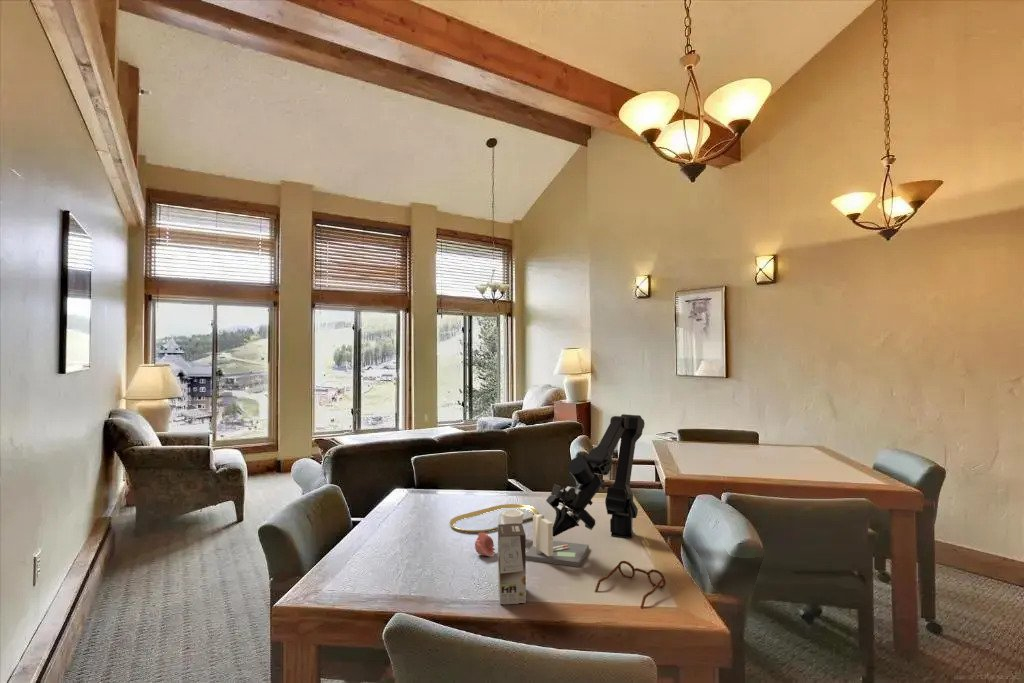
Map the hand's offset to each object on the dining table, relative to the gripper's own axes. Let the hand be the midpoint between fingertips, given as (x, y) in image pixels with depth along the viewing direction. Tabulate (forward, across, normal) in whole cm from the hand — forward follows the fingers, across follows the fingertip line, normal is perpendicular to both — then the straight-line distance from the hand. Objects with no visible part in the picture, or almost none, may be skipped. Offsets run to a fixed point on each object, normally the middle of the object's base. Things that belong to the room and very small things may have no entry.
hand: (552, 535), depth 147 cm
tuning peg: (+2, -3, +6) cm, 7 cm away
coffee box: (+19, +14, -8) cm, 25 cm away
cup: (+7, -23, +4) cm, 25 cm away
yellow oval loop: (+5, -42, +6) cm, 42 cm away
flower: (+16, -13, -5) cm, 22 cm away
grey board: (+2, -4, +8) cm, 9 cm away
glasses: (0, +24, +12) cm, 27 cm away
